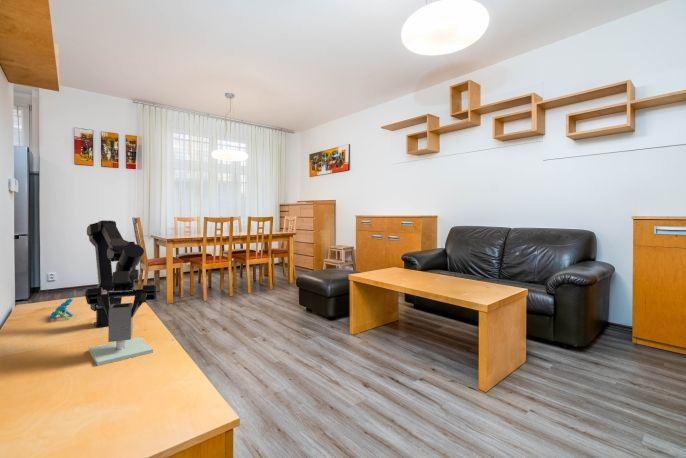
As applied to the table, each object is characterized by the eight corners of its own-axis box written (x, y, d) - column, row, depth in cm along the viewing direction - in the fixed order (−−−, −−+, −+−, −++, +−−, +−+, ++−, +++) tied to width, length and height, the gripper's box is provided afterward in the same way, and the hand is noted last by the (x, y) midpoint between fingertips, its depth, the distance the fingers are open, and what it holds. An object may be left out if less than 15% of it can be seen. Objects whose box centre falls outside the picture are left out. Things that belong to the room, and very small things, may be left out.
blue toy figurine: (49, 311, 135) (71, 293, 138) (63, 319, 138) (84, 301, 141) (43, 322, 126) (67, 303, 129) (58, 331, 129) (80, 312, 132)
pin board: (88, 350, 102) (88, 334, 102) (139, 339, 112) (140, 325, 112) (97, 365, 93) (97, 348, 92) (153, 352, 103) (153, 336, 102)
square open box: (111, 335, 104) (111, 304, 103) (132, 333, 106) (132, 302, 106) (108, 342, 99) (108, 308, 98) (130, 339, 101) (131, 307, 101)
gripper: (86, 261, 101) (77, 307, 91) (156, 260, 110) (155, 301, 100) (91, 282, 108) (83, 326, 99) (157, 279, 117) (155, 319, 107)
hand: (120, 317), depth 101 cm, fingers closed on square open box, 6 cm apart
